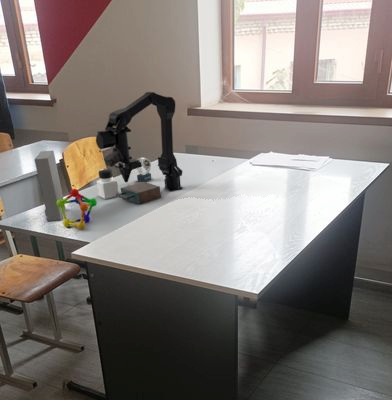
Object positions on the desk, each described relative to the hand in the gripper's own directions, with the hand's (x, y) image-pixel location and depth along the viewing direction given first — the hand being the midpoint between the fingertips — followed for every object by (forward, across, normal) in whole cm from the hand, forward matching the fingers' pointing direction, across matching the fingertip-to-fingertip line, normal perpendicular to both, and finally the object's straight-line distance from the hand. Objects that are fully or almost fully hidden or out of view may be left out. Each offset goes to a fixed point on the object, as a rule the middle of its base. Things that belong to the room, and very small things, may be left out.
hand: (126, 182), depth 220 cm
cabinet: (+9, 0, +7) cm, 11 cm away
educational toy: (+9, +9, -30) cm, 32 cm away
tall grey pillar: (+9, -10, -31) cm, 34 cm away
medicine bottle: (+9, -15, -1) cm, 18 cm away
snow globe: (+9, -22, +25) cm, 35 cm away
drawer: (+9, 0, +4) cm, 10 cm away
